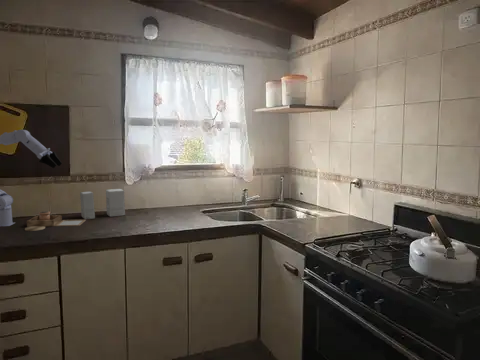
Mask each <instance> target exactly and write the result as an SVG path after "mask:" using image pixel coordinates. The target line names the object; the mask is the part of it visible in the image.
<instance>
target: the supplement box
mask: <svg viewBox="0 0 480 360" xmlns="http://www.w3.org/2000/svg"><path fill="white" fill-rule="evenodd" d="M125 200H126V199H125V190H123V189H122V188H113V189H111V188H110V189H105V203H106V215H107V216H108V217H119V216H120V217H121V216H125V215H126V205H125V204H126V201H125Z"/></svg>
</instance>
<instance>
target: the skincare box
mask: <svg viewBox="0 0 480 360" xmlns="http://www.w3.org/2000/svg"><path fill="white" fill-rule="evenodd" d="M79 195H80V198H79V199H80V213H81V217H82V218H83V220H88V219H89V220H94V219H95V218H96V214H95V201H94V192H92V191H83V192H79Z"/></svg>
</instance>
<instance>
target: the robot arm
mask: <svg viewBox="0 0 480 360" xmlns="http://www.w3.org/2000/svg"><path fill="white" fill-rule="evenodd" d="M20 142H21V143H22V144H23V145H24V146H25V147H26V148H27V149H29V150H30V151H31V152H32V153H33V154H35V156H36V157H37V158H38V159H39V163H42V164H44V165H47V166H48V167H51V168H52V169H54V168H56V167H57V166H58V167H61V165H62V164H63V162H62V161H61V160H60V158H59V157H58V155H57V152H56V151H51V148H50V147H49V148H46V146H44V145H43V144H42V143H41V142H40V141H39V140H38V139H36V138H35V137H33V136H32V135H31V132H30V131H28V130H26V129H17V130H16V129H15V130H13V131H10V132H7V131H6V132H3V133H2V134H0V145H4V146H9V145H13V144H18V143H20ZM13 203H14V198H13V196H12V195H10V194H8V193H7V192H6V191H4V190H2V189H0V227H10V226H12V225H14V224H16V222H13V211H12V210H13V209H12V205H13Z"/></svg>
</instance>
